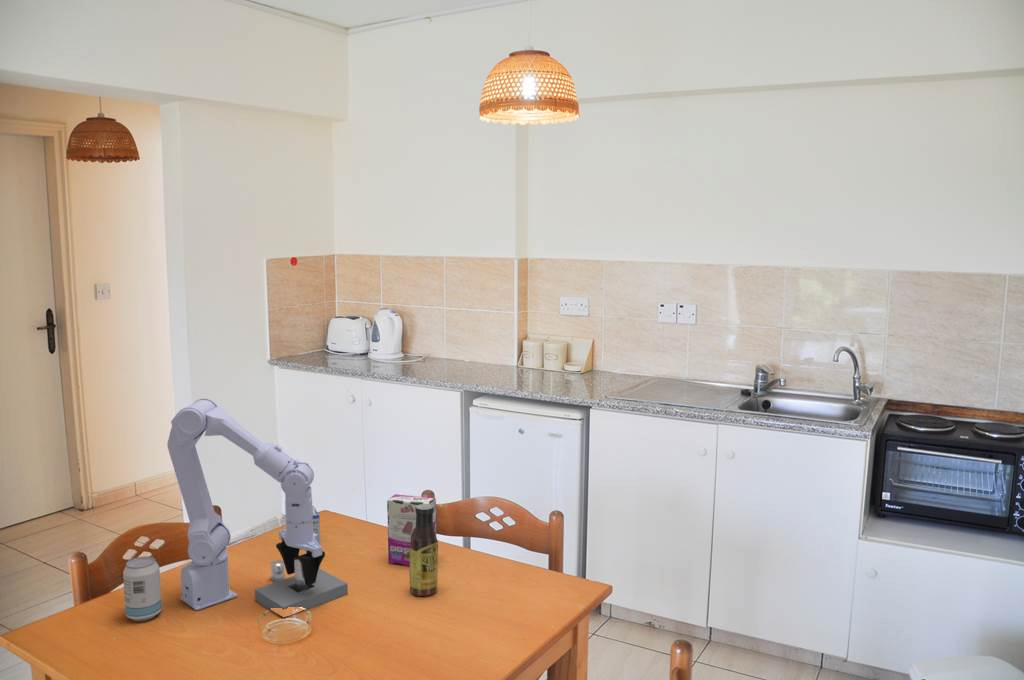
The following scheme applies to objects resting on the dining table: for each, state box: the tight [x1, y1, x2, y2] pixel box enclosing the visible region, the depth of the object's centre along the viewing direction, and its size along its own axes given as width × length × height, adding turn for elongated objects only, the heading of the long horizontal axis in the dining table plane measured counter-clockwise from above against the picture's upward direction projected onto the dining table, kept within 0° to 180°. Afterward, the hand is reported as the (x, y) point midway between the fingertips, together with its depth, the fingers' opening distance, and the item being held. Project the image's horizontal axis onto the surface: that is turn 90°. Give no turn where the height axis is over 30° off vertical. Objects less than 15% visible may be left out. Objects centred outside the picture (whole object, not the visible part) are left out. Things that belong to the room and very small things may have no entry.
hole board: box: [254, 567, 349, 610], centre depth 178 cm, size 16×12×2 cm
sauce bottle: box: [409, 504, 439, 597], centre depth 180 cm, size 6×6×20 cm
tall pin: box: [294, 557, 309, 593], centre depth 178 cm, size 3×3×9 cm
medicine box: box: [312, 505, 321, 546], centre depth 208 cm, size 8×4×9 cm, turn 25°
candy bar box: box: [386, 493, 437, 567], centre depth 195 cm, size 11×5×16 cm, turn 73°
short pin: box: [270, 559, 286, 583], centre depth 187 cm, size 3×3×4 cm
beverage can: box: [122, 555, 163, 622], centre depth 168 cm, size 7×7×12 cm
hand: (301, 578), depth 177 cm, fingers open, 7 cm apart
